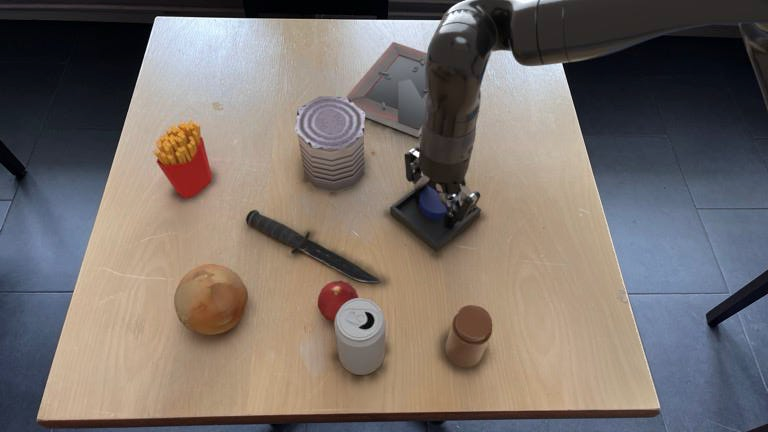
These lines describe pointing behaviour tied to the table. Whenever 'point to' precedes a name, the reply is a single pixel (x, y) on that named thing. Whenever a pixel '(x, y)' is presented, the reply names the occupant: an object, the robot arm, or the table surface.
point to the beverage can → (360, 335)
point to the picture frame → (395, 89)
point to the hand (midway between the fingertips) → (435, 212)
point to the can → (331, 142)
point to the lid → (432, 204)
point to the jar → (468, 336)
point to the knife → (307, 246)
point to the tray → (428, 222)
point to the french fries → (184, 159)
